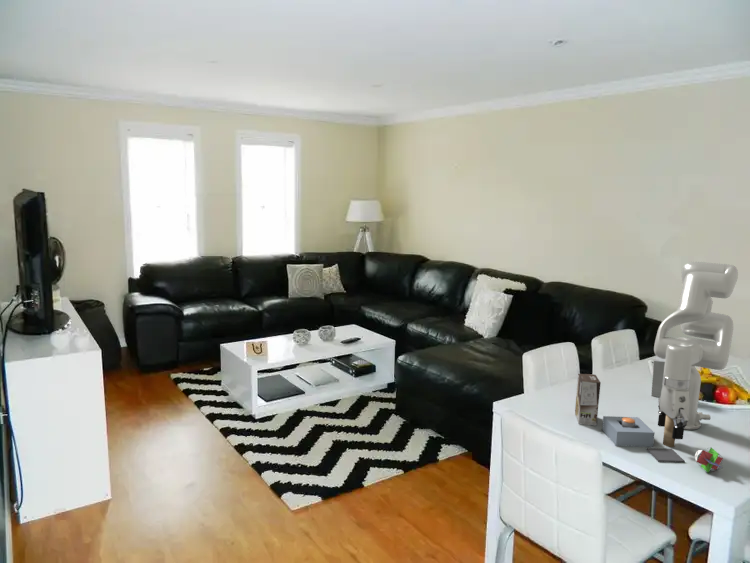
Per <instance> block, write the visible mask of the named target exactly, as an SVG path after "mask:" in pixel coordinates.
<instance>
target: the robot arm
mask: <svg viewBox="0 0 750 563" xmlns="http://www.w3.org/2000/svg"><path fill="white" fill-rule="evenodd" d="M681 268H682V269H681V283H682V286H681V292H680V297H679V301H678V306H677V309H676V310H674V312H672V313H671V314H669V315H667V317H665V318H664V319H663V320H662V321H661V323H660V324H659V326H658V329H657V331H656V332H657V333H656V336H655V340H654V343H653V344H654V346H653V352H654V355H655V356H657V357H659V358H662V359H665V366H664V375H663V383H662V385H663V386H662V391H661V396H660V397H658V398H657V401H658V402H657V403H658V419H657V427H664V428H665V420H666V414H667V415H668V416H669V417H670V418H672V419H673V421H674V425H675V427H673V433H672V438H673V439H675V440H683V439H684V434H685V432H684V431H685V430H689V431H690V430H692V431H693V430H697V429H699V428H701V425H702V424H701V421H702V420H704V421H710V420H711V418H712V417H711V414H709V413H708V414H706V413H705V414H704V413H703V412H700V411H699V412H698V407H699V399H700V390H701V383H702V377H701V374H700V372H699V370H698V369H697V367H699V368H705V369H710V370H715V371H722V370H724V369H725V368H726V367H727V366H728V362H729V358H730V357H729V356H730V352H731V347H732V346H731V345H732V339H733V333H734V320H733V318H732V317H731V316H730V315H729V314H728V315H727V314H724V313H719V312H718V313H717V312H712V307H713V302H714V301H713V299H712V298H717V299H718V298H719V299H724V300H725V299H727V298H730V297H731V295H732V294H733V291H734V288H735V287H736V285H737V281H738V278H739V272H738V269H737V267H736V266H735V265H733V264H727V263H716V262H705V261H691V262H690V261H689V262H687V263H685V264H683V266H682V267H681ZM679 325H680V330H681V333H683V335H687V336H688V337H686V336H680V337H669V336H668V333H669V331H671V330H672V329H673V328H674V327H677V326H679ZM689 336H690V337H689ZM705 339H706V340H705ZM707 339H708V340H707ZM712 340H713V341H712ZM676 417H678V418H676Z"/></svg>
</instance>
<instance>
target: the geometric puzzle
mask: <svg viewBox="0 0 750 563" xmlns="http://www.w3.org/2000/svg"><path fill="white" fill-rule="evenodd" d="M694 459H695V462H696V463H697V464H699V465H700V468H701V469H703V470H704V471H705V472H706V473H707V474H709V473H710V471H711V470H713V471H711V473H714V471H719V470H720V469H723V468H724V467H723V465H722V464H723V463H722V461H723V460H724V458H723V457H722V455H720V453H719V452H717V450H715V449H714V448H712V447H709V450H705V449H697V450H696V452H695V454H694ZM718 468H719V469H718Z"/></svg>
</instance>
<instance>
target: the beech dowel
mask: <svg viewBox="0 0 750 563" xmlns="http://www.w3.org/2000/svg"><path fill="white" fill-rule="evenodd" d="M676 418H678V417H676ZM673 427H675V425H674V421H673V419H672V418H670V417H669V416H668V415H667V414H666V420H665V427H664V429H663V440H662V445H664V446H666V447H668V448H674V447H675V444H676V439H673V438H672V433H673Z"/></svg>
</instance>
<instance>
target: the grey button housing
mask: <svg viewBox="0 0 750 563" xmlns="http://www.w3.org/2000/svg"><path fill="white" fill-rule="evenodd" d="M624 417H625V416H609V415H608V416H606V415H603V417H602V426H601V427H602V429H601V431H602V432H604V434H605V435H606V436H607V437H608V438H609V440H610V441H611V442H612V443H613V444H614V446H616V447H641V448H643V447H645V448H654V442H655V431H654V430H653V429H652V428H650V427H649V426H648V425H647V424H646V423H645V422H644V421H643V420H642V419H641V418H640V417H638V416H627V417H628V418H632V419H634V420H635V427H634V428H626V427H622V425H621V424H622V418H624Z"/></svg>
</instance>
